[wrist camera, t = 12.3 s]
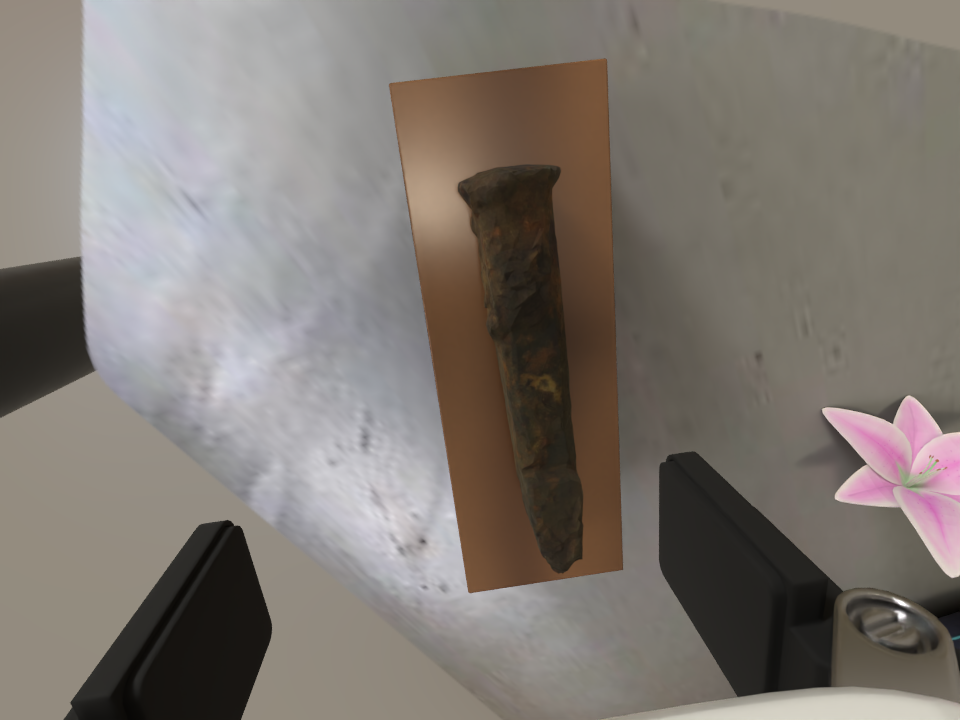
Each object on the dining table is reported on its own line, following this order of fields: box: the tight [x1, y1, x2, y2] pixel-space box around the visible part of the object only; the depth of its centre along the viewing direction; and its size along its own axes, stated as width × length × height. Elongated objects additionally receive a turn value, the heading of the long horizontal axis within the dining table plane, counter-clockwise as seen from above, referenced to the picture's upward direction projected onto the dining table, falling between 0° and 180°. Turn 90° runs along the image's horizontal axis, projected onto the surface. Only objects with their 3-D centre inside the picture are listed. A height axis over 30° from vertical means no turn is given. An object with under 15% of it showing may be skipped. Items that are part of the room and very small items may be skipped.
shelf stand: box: [389, 59, 623, 593], centre depth 28 cm, size 9×26×9 cm, turn 7°
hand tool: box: [458, 164, 583, 574], centre depth 22 cm, size 19×4×5 cm, turn 6°
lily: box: [822, 396, 960, 578], centre depth 35 cm, size 12×12×10 cm
